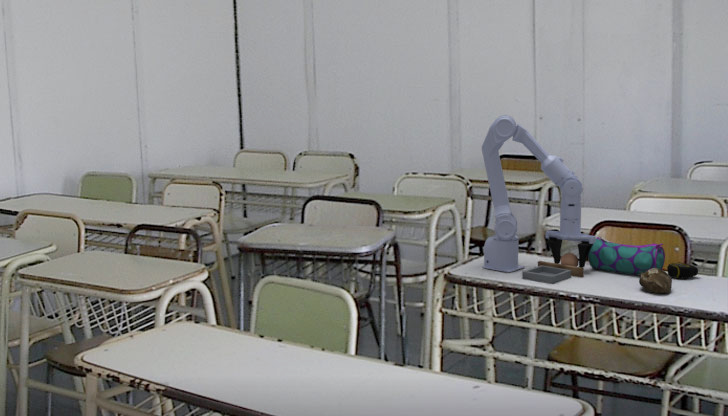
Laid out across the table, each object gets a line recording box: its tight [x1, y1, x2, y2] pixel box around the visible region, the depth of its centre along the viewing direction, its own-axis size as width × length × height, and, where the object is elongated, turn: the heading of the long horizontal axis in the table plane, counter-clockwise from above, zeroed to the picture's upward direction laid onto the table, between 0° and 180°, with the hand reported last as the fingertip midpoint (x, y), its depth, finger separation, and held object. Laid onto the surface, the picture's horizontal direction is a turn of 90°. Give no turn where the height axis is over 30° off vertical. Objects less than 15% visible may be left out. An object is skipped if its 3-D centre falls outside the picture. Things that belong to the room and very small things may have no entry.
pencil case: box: [587, 235, 666, 276], centre depth 235 cm, size 21×9×10 cm, turn 51°
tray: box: [521, 265, 572, 285], centre depth 231 cm, size 10×10×2 cm
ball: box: [560, 252, 579, 267], centre depth 239 cm, size 5×5×5 cm
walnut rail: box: [537, 260, 585, 278], centre depth 235 cm, size 14×1×2 cm, turn 46°
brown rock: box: [638, 268, 673, 294], centre depth 215 cm, size 8×7×10 cm
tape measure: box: [667, 262, 699, 280], centre depth 229 cm, size 7×7×4 cm
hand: (569, 265), depth 239 cm, fingers open, 7 cm apart
